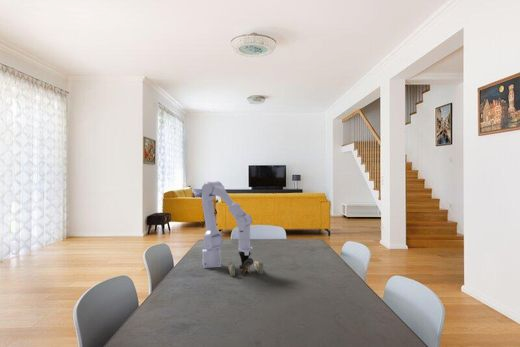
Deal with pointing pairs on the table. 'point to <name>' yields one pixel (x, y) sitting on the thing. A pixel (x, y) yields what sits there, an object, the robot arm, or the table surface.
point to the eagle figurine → (245, 265)
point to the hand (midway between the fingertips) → (244, 266)
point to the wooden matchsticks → (256, 264)
